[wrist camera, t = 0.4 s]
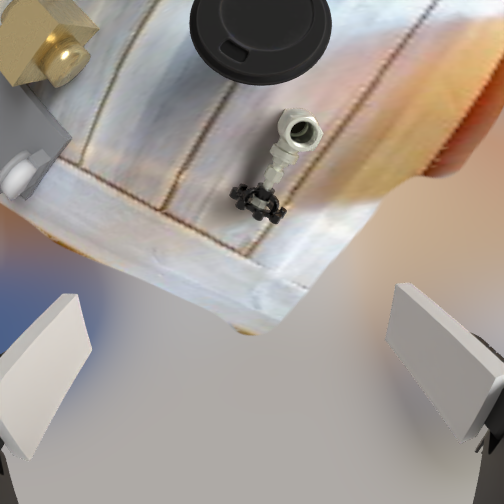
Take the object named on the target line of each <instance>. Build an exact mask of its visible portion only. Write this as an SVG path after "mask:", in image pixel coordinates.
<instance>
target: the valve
mask: <svg viewBox="0 0 504 504" xmlns="http://www.w3.org/2000/svg"><path fill="white" fill-rule="evenodd" d="M302 121H305V127H304V129H303V130H302V131H301V132H299V133H290V131H291V129H292V127H293V126H294V125H295V124H296V123H298V122H302ZM277 124H278V133H279V135H280V139H279V141H278V143H274V144H273V146H272V148H271V150H270V153H271V154H272V155H273V158H272V160H273V161H274V163H273V165H271V164H269V166H268V168H267V170H266V171H265V173H264V177H265V178H266V180H265V182H264V183H258V185H257V187H256V188H255V187H253V188H250V189H248V190H246V189H247V187H248V186H247V185H245V184H240V185H239V187H238V188H237V187H233V188H232V190H231V192H230V194H229V196H230V197H231V198H233V199H235V200H237V202H236V205H235V206H236V207H237V208H238V209H240V210H245V209H248V210H250V211H251V212H253V215H252V216H253V218H254V219H256V220H258V221H261V220H262V219H263V217H267V218H269V220H270V222H272V223H274V224H278V223H279V221H280V219H282V218H283V217H284V216H285V214H286V212H287V210H286V209H285V208H283V207H281V209H280V210H279V209H278V208H279V200H278V199H277V197H276V196H274V195H273V194H274V192H275V190H274V189H273V188H272V186H273V184H274V183H279V182H280V180H281V178H282V176H283V174H284V171H283V170H282V169H283V167H288V165H289V164H291V165H295V164H296V162H297V160H298V158H299V155H298V154H297V153H298V152H301V151H314V150H315V148H316V147H317V145H318V143H319V142H320V140H321V138H322V136H323V132H322V130H321V129H320V127H319V124H318V121H317V119H316V117H315V116H314V115H313V114H312V113H311V112H310V111H308V110H306V109H302V108H293V109H285V110H284V112H283V113H282V115H281V117H280V119H279V121H278V123H277ZM249 198H252V200H251V202H249V201H248V200H249ZM266 206H268V207H269V209H270V210H265V209H264V208H265V207H266Z"/></svg>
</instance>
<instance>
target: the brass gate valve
mask: <svg viewBox="0 0 504 504" xmlns="http://www.w3.org/2000/svg"><path fill="white" fill-rule="evenodd" d="M1 23H2V25H1V26H0V71H1V73H2V74H3V75H4V76H5V78H6V79H7V80H8V82H9V83H10V84H11V85H12V87H14V86H18V85H22V84H26V83H31V82H36V81H40V80H45V79H48V80H49V81H50V83H51V84H52V85H53V86H54V87H55V88H57V87H61V86H63V85H65V84H66V83H68V82H69V81H71V80H72V79H73V78H74V77H76V76H77V75H78V74H79V73H80V72H81V71H82V70H83V68H84V67H85V66H86V65H87V63H88V62H89V60H90V54H89V53H88V52H87V50H86V49H85V48H84V47H83V46H84V45H85V44H86V43H87V42H88V41H89V40H90V39H91V38H92V36H93V35H94V34H95V33H96V32H97V31H98V30H99V28H98V27H97V25H96V24H95V23H94V22H93V21H92V20H91V19H90V18H89V17H88V16H87V15H86V14H85V13H84V12H83V11H82V10H81V9H80V8H79V7H78V6H77V5H76V4H75V3H74V2H73V1H72V0H13V1H12V2H11V3H10V4H9V5H8V6H7V7H6V8H5V10H4V12H3V14H2V16H1Z"/></svg>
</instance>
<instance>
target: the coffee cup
mask: <svg viewBox="0 0 504 504" xmlns="http://www.w3.org/2000/svg"><path fill="white" fill-rule="evenodd" d="M189 24H190V34H191V39H192V42H193V44H194V46H195V49H196V50H197V52H198V54H199V55H200V57H201V58H202V59H203V60H204V62H205V63H206V64H207V65H208V66H209V67H211V68H212V69H213V70H214V71H216V72H217V73H219V74H220V75H222V76H224V77H226V78H228V79H230V80H233V81H236V82H239V83H243V84H248V85H259V86H264V85H275V84H280V83H284V82H287V81H290V80H292V79H295V78H297V77H299V76H300V75H302V74H304V73H305V72H307V71H308V70H309V69H310V68H312V67H313V66H314V65H315V64H316V63H317V62H318V60H319V59H320V58H321V56H322V55H323V53H324V51H325V50H326V47H327V45H328V43H329V40H330V36H331V29H332V19H331V13H330V9H329V6H328V4H327V1H326V0H194V3H193V5H192V8H191V13H190V22H189Z"/></svg>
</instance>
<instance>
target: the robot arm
mask: <svg viewBox="0 0 504 504" xmlns="http://www.w3.org/2000/svg"><path fill="white" fill-rule="evenodd" d="M385 340H386V342H387V343H388V344H389V346H390V347H391V348H392V349H393V351H394V352H395V353H396V355H397V356H398V358H399V359H400V360H401V361H402V363H403V364H404V366H405V367H406V368H407V370H408V371H409V372H410V374H411V375H412V376H413V378H414V379H415V381H416V382H417V383H418V385H419V386H420V387H421V389H422V390H423V392H424V393H425V394H426V396H427V397H428V399H429V400H430V401H431V403H432V404H433V406H434V407H435V408H436V410H437V411H438V413H439V414H440V416H441V417H442V419H443V420H444V422H445V423H446V424H447V426H448V427H449V429H450V430H451V432H452V433H453V435H454V436H455V437H456V439H457V441H458V442H459V444H461V443H463V442H466V441H468V440H470V439H472V438H474V437H476V436H477V435H478V433H479V431H480V430H481V428H482V426H483V425H484V424H485V425H486V426H487V428H488V431H487V433H486V434H485V436H484V437H483V439H482V440H481V442H480V443H479V445H478V447H477V448H476V451H475V452H476V453H478V451H479V450H480V448H481V447H482V446H483V445H484V446H483V451H482V460H481V467H480V472H479V477H478V483H477V487H476V492H475V497H474V501H473V504H504V358H503V357H502V356H501V355H500V354H498V353H496V351H495V350H494V349H493V348H492V347H489V344H488V343H486V342H485V341H484V340H483V339H482V338H481V337H479V336H477V335H475V334H473V333H471V332H469V331H467V330H466V329H465V328H464V327H463V326H462V325H461V324H460V323H459V322H457V321H456V320H455V319H454V318H453V317H451V316H450V315H449V314H448V313H447V312H446V311H444V310H443V309H442V308H441V307H440V306H438V305H437V304H436V303H435V302H434V301H432V300H431V299H430V298H429V297H428V296H426V295H425V294H424V293H422V292H421V291H420V290H419V289H418V288H416V287H415V286H414V285H413V284H411V283H402V284H396V285H395V291H394V297H393V302H392V308H391V313H390V319H389V323H388V328H387V334H386V338H385ZM91 351H92V347H91V344H90V340H89V337H88V333H87V330H86V326H85V322H84V319H83V315H82V311H81V307H80V302H79V298H78V294H62V295H61V296H60V297H59V298H58V299H57V300H56V301H55V302H54V303H53V304H52V305H51V306H50V307H49V308H48V309H47V310H46V311H45V312H44V313H43V314H42V315H41V316H40V317H39V318H38V319H37V320H36V321H35V322H34V323H33V324H32V325H31V326H30V327H29V328H28V329H27V330H26V331H25V332H24V333H23V334H22V335H21V336H20V337H19V338H18V339H17V340H16V341H15V342H14V343H13V344H12V345H11V347H10V348H9V349H8V350H7V351H5V352H3V353H2V354H0V504H18V501H17V497H16V494H15V491H14V488H13V485H12V481H11V478H10V474H9V470H8V466H7V462H6V458H5V455H4V453H3V452H2V451H1V448H2V447H3V445H4V444H5V445H6V446H7V448H8V449H9V451H10V452H11V453H12V454H13V456H16V457H19V458H21V459H24V460H27V461H31V459H32V457H33V455H34V453H35V451H36V449H37V447H38V445H39V443H40V441H41V439H42V437H43V435H44V433H45V431H46V429H47V428H48V426H49V424H50V422H51V420H52V418H53V416H54V415H55V413H56V411H57V409H58V407H59V406H60V404H61V402H62V400H63V398H64V397H65V395H66V393H67V391H68V390H69V388H70V386H71V385H72V383H73V381H74V379H75V378H76V376H77V374H78V373H79V371H80V369H81V368H82V366H83V364H84V362H85V361H86V359H87V358H88V356H89V354H90V353H91Z"/></svg>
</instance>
